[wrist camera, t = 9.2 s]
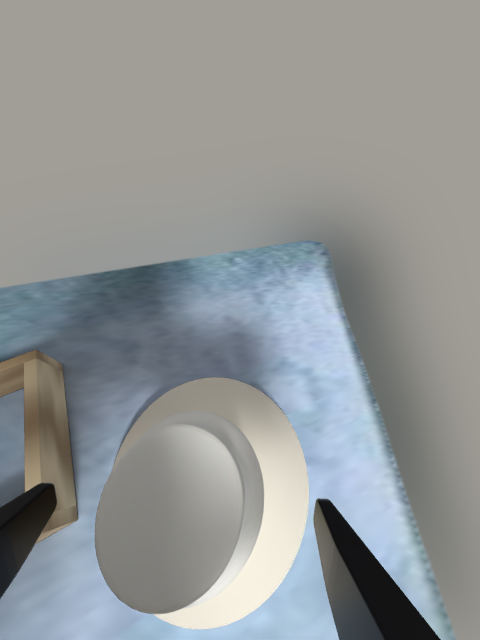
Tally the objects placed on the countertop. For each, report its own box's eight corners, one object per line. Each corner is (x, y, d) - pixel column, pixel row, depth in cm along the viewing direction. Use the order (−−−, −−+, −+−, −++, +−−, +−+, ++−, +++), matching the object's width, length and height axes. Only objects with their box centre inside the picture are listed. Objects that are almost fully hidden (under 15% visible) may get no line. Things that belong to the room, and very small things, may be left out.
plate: (328, 607, 12) (333, 616, 12) (85, 631, 12) (76, 642, 11) (287, 376, 19) (289, 373, 18) (133, 384, 19) (129, 381, 18)
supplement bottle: (189, 418, 16) (135, 374, 8) (261, 445, 16) (293, 427, 7) (151, 512, 14) (0, 606, 5) (237, 550, 13) (237, 745, 4)
